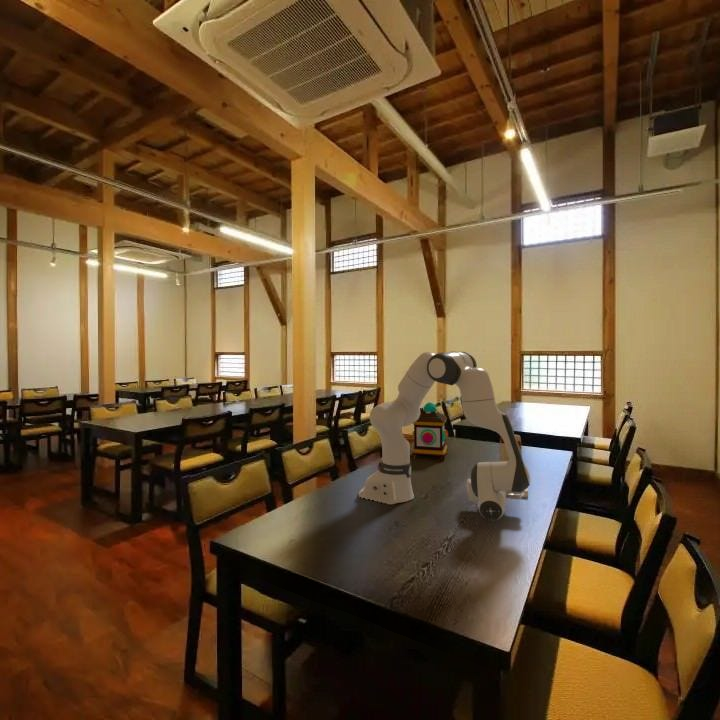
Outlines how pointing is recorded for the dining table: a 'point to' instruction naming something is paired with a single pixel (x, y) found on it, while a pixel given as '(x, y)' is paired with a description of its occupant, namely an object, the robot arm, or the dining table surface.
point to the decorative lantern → (430, 433)
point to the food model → (503, 449)
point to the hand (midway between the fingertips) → (495, 481)
